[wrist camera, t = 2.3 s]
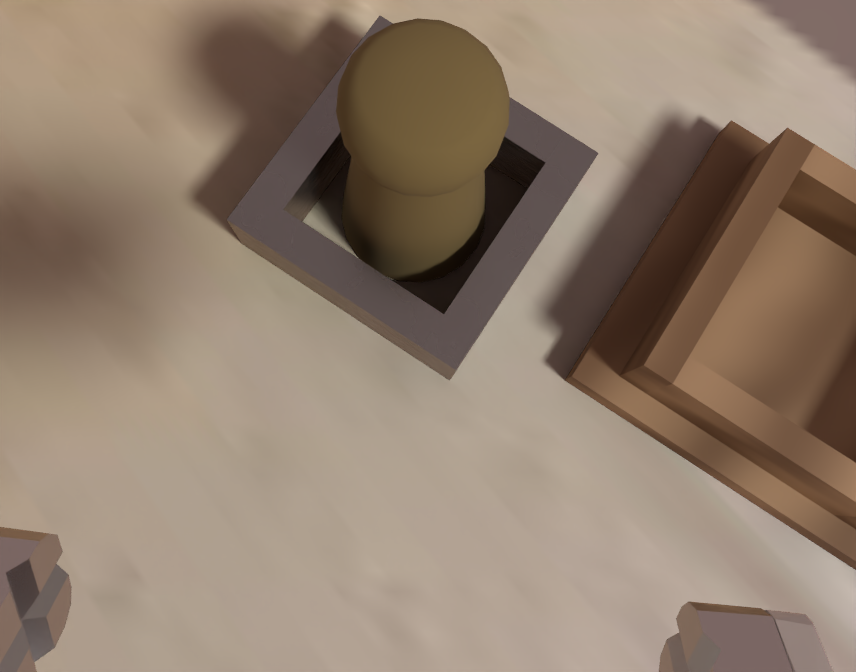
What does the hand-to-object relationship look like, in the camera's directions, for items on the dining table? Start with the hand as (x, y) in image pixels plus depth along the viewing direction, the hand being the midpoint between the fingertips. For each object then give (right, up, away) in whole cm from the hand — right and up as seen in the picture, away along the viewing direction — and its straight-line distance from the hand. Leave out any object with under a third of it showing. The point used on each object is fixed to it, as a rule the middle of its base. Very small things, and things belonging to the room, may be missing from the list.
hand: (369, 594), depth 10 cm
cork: (0, +8, +22) cm, 24 cm away
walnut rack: (+16, +3, +22) cm, 27 cm away
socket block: (0, +9, +22) cm, 24 cm away
